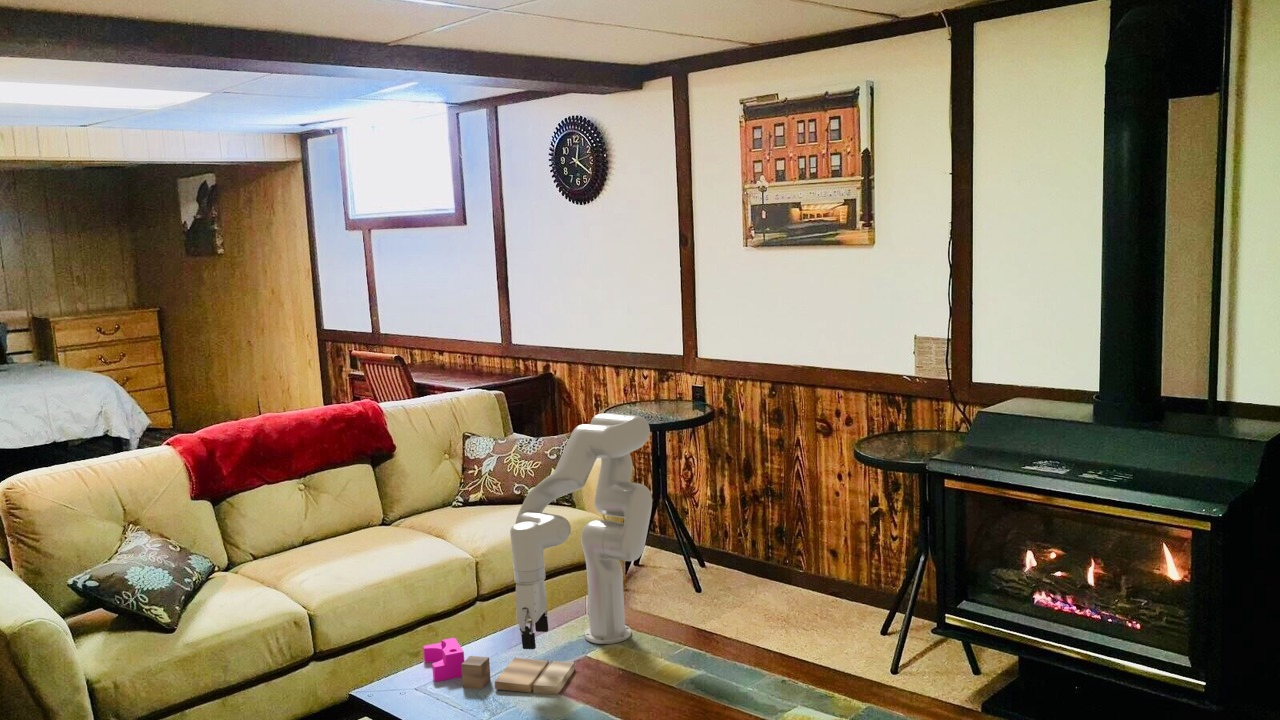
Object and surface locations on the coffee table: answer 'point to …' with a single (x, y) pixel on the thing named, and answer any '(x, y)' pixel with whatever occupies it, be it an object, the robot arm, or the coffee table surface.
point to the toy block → (445, 659)
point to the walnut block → (476, 672)
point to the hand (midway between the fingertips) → (535, 639)
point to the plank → (521, 675)
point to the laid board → (553, 677)
